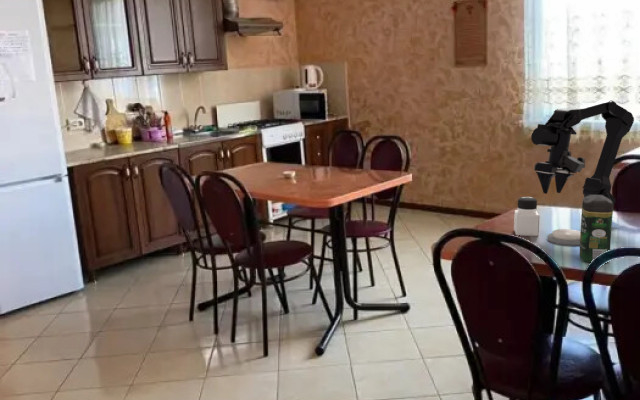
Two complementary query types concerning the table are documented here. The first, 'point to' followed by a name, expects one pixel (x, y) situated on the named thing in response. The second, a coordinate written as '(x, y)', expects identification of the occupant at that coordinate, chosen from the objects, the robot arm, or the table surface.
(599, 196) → the coffee jar
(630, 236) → the table surface
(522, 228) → the medicine bottle
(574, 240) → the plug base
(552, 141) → the robot arm
